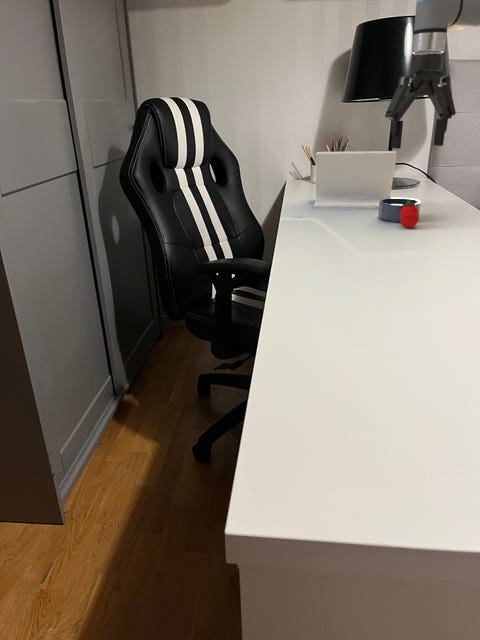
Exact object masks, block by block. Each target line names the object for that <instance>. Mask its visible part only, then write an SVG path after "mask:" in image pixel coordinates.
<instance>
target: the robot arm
mask: <svg viewBox="0 0 480 640" xmlns="http://www.w3.org/2000/svg"><path fill="white" fill-rule="evenodd" d="M470 28H473V29H477V28H480V0H416V2H415V16H414V27H413V37H412V45H411V54H413V55H412V56H411V57H410V66H409V72H410V76H409V75H408V76H407V75H406V76H400V77H399V78H398V85H397V88H396V90H395V92H394V94H393V96H392V99H391V101H390V103H389V105H388V107H387V110H386V111H385V114H384V117H385V118H386V119H388V120H389V121H391V123H390V135H391V146H390V148H391V149H401V147H402V139H403V138H402V137H403V127H404V120H401V119H403V116H404V115H405V114H406V112H407V111H408V109H409V108H410V107H411V105H412V104H413V103H414V101H415V100H416V99H418V98H419V97H427V98H428V99H430V102H431V103H432V106H433V108H434V109H435V111H436V114H437V115H438V117H439V118H436V121H435V129H434V137H433V145H432V146H437V147H443V146H444V142H445V133H446V132H447V130H448V121H449V120H450V119H452V118H453V116H455V115H456V113H457V112H456V107H455V103H454V98H453V94H452V90H451V77H450V76H449V75H446V76H440V75H441V72H442V71H443V67H444V59H445V58H444V55H443V53H444V52H445V50H446V43H447V35H448V33H449V32H454V31H459V30H464V29H470Z"/></svg>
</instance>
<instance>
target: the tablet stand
mask: <svg viewBox="0 0 480 640" xmlns="http://www.w3.org/2000/svg"><path fill="white" fill-rule="evenodd" d="M397 155H398V153H397V151H395V150H384V151H383V150H380V151H379V150H376V151H375V150H372V151H371V150H370V151H364V150H363V151H317V152H316V153H315V200H314V202H313V207H314V208H345V209H346V208H348V209H349V208H350V209H352V208H353V209H354V208H356V209H357V208H358V209H379V201H380V200H382V199H387V198H391V195H392V194H391V193H392V187H393V181H394V177H395V176H394V175H395V169H396V163H397V157H398V156H397Z"/></svg>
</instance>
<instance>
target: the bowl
mask: <svg viewBox="0 0 480 640" xmlns="http://www.w3.org/2000/svg"><path fill="white" fill-rule="evenodd" d="M408 200H411V203H415V205H414V206H416V207H417V209H418V218H419V219H420V213H421V212H420V211H421V201H420V200H419V199H415V198H409V197H390V198H387V199H382V200H380V201H379V208H378V216H377V217H378V218H379V219H381V220H383V221H386V222H389V223H390V222H391V223H401V221H400V211H401V209H402V208H403V207H404V206H403V204H407V201H408Z"/></svg>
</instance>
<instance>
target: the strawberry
mask: <svg viewBox="0 0 480 640" xmlns="http://www.w3.org/2000/svg"><path fill="white" fill-rule="evenodd" d="M414 205H415V203H411V200H408V201H407V204H403V206H404V207H403V208H402V209H401V211H400V221H401V222H400V225H402V227H404V228H406V229H411V228H414V227H416V226H417V224H418V223H419V219H420V217H419V218H418V209H417V207H416V206H414Z"/></svg>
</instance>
